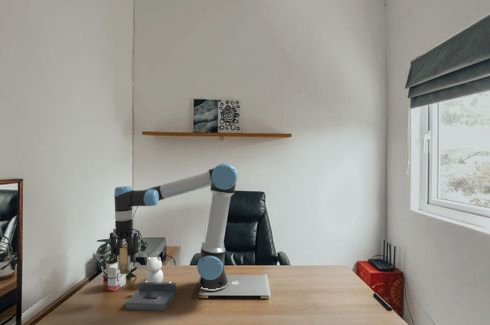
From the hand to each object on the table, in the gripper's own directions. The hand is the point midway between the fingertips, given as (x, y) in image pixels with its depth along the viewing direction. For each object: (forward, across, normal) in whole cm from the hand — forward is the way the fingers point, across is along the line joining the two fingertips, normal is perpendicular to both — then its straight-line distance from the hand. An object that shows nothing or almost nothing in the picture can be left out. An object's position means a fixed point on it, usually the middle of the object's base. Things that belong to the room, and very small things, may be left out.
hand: (125, 268), depth 126 cm
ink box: (+15, +12, -13) cm, 23 cm away
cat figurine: (+16, -6, -19) cm, 25 cm away
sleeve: (+2, 0, 0) cm, 2 cm away
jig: (+15, -13, 0) cm, 20 cm away
